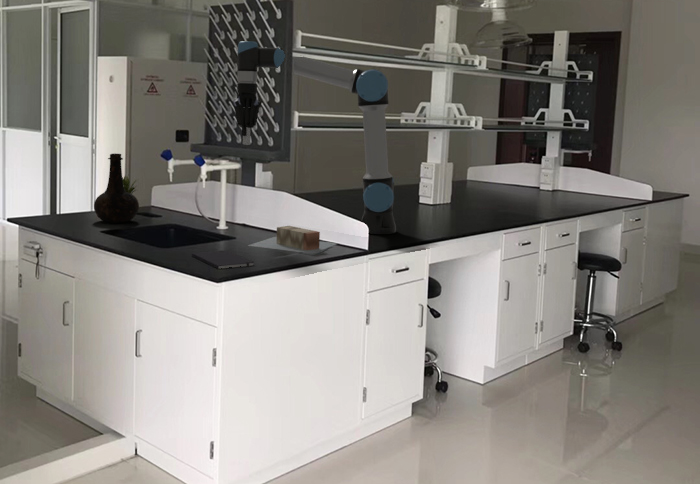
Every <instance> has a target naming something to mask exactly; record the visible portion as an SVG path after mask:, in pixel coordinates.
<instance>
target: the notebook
mask: <svg viewBox="0 0 700 484" xmlns="http://www.w3.org/2000/svg"><path fill="white" fill-rule="evenodd" d="M191 257H192V258H195V259H196V260H199V261H201V262H203V263H204V264H205V263H206V264H207V265H209V266H211V267H213V268H215V269H217V270H221V268H222V269H229V267H232V268H241V267H250V266H254V261H252V260H250V259H248V258H246V257H243V256H241V255H239V254H236V253H235V252H232V251H229V250H225V249H224V250H216V251H215V250H214V251H204V252H203V251H201V252H192V253H191ZM240 266H241V267H240Z"/></svg>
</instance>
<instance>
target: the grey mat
mask: <svg viewBox="0 0 700 484" xmlns="http://www.w3.org/2000/svg"><path fill="white" fill-rule="evenodd" d="M336 245H338V244H337V242H330V241H329V242H328V241H321V240H319V249H313V250H303V249H299V248H294V247H290V246H285V245H281V244H277V235H276V236H273V237H269V238H267V239H264V240H261V241H257V242H254V243H251V244H248V245H247V247H248V246H249V247H255V248H265V249H270V250H271V249H273V250H279V251H280V250H281V251H289V252H297V253H299V255H300V254H301V255H309V256H310V255H311V256H315V255H317V254H320V253H322V252H325V251H327V250H330V249H332V248H333V246H336Z"/></svg>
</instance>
